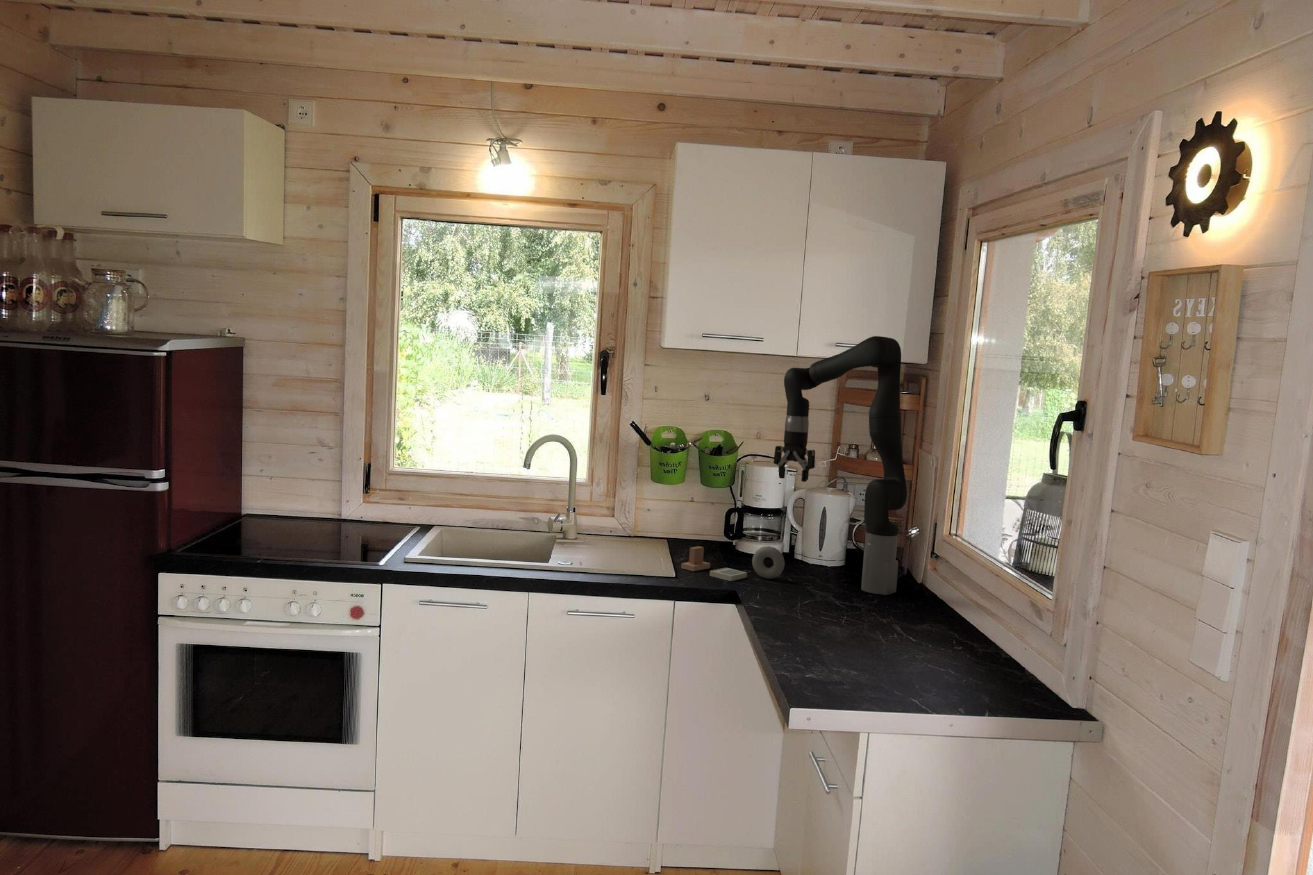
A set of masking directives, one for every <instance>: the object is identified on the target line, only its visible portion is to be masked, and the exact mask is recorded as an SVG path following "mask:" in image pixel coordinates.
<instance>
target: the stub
mask: <svg viewBox="0 0 1313 875" xmlns="http://www.w3.org/2000/svg"><path fill="white" fill-rule="evenodd" d="M704 549H705V547H704V546H692V547H689V554H688V555H689V556H688V561H687V562H682V563H681V566H680V568H681V569H683V570H688V571H691V572H697V571H702V570H708V569H710V568H711V562H706V561H704V553H705V550H704Z"/></svg>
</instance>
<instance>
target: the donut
mask: <svg viewBox="0 0 1313 875" xmlns="http://www.w3.org/2000/svg"><path fill="white" fill-rule="evenodd" d="M767 558H770V559H771V560H772V563H773V564H772V566H771V567H767V566H765V564H764V560H765V559H767ZM751 562H752V567H753V570H754V572H755V573H756V574H757V575H758V576H759V577H761V578H763V579H767V580H771V579H776V578H777V577H779V576H780V575H781V574H782V572H783V571H784V569H785V563H786V562H785V559H784V555H783V554H782V552H781V551H780V550H779V549H777V547H774V546H770V545H768V546H767V545H766V546H765V545H764V546H762V547H760V548H758V549H757V550H756V551H755V552H754V554H753V555H752V559H751Z"/></svg>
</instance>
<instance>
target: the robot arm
mask: <svg viewBox="0 0 1313 875" xmlns="http://www.w3.org/2000/svg"><path fill="white" fill-rule="evenodd" d="M901 366H902V348H901V345H900V343H899V341H897V340H896V339H895V338H892V337H887V336H880V335H872V336H870V337H868V338H866V339H863V340H862V341H861V342H858V343H857V344H856V345H854V346H852V347H850V348H849V349H846V350H844V351H842V352H839V354H835V355H832V356H829V357H826V358H823V359H820V360H817V361H816V362H813V363H811V365H810V366H809V367H807V368H805V367H791V368H788V370H787V371H786V372H785V373H784V378H783V386H784V391H785V397H786V403H787V405H786V416H785V422H784V435H783V444H784V445H783V446H782V445H776V446H775V448H774V455H773V464H774V465H777V466H778V472H779V476H778V478H779V479H785V476H786V465H787V463H789V462H795V463H798V464H799V466H800V467H801V469H802V470H801V480H800V481H801V482H803V483H804V482H807V481H808V480H809V474H810V472H809V471H810V470H812V469H815V467H816V451H815V449H807V446H808V439H809V425H810V421H809V414H810V413H809V412H810V401H809V399H808V398H805V397H804V396H803V392H802V391H808V390H812V389H814V388H815V389H816V388H818V386H820V385H822V384H824V383H828V382H830V381H833V380H836V379H838V378H841V377H842V376H844V375H845V374H847V373H849V371H851V370H856V369H859V368H864V367H867V368H868V367H872V368H877V388H876V392H875V395H874V397H873V399H872V402H871V404H870V408H869V411H868V432H869V436H870V440H871V442H872V444H873V445H874V448H875V450H876V451H877V454H878V455H879V457H880V460H881V463H882V468H883V469H882V470H883V478H882V479H881V478H879V479H877V478H876V479H872V480H870V481H869V482H868V484H867V486H866V489H865V493H864V506H863V507H864V508H863V509H864V512H863V513H864V514H863V515H864V516H863V518H864V519H863V520H864V524H865V536H864V537H865V538H864V550H863V562H862V571H861V572H862V573H861V574H862V575H861V590H862V591H863V592H866V593H870V594H873V595H875V594H876V595H884V596H888V595H891V594H894V593H896V592H897V582H898V572H899V571H898V570H899V560H897V548H898V537H899V525H898V524H896V523H894V522H892V521H891V520H890V518H889V517H890V516H889V511H898V510H902V509H903V507H904V506H905V504H906V502H907V498H908V490H907V489H908V488H907V482H906V480H907V479H906V474H905V468H904V467H905V466H904V460H903V457H904V456H903V443H902V441H903V440H902V414H901V388H900V387H901V370H902V368H901ZM783 453H784V454H783ZM782 454H783V455H782ZM806 457H807V458H806Z"/></svg>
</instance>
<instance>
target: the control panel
mask: <svg viewBox="0 0 1313 875" xmlns="http://www.w3.org/2000/svg"><path fill="white" fill-rule="evenodd" d="M709 576H710V577H713V578H716V579H720V580H725V581H729V582H732V581H737V580H742V579H745V578H747V577H748V572H745V571H741V570H738V569H733V568H729V567H723V568H717V569H712V570H709Z"/></svg>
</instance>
